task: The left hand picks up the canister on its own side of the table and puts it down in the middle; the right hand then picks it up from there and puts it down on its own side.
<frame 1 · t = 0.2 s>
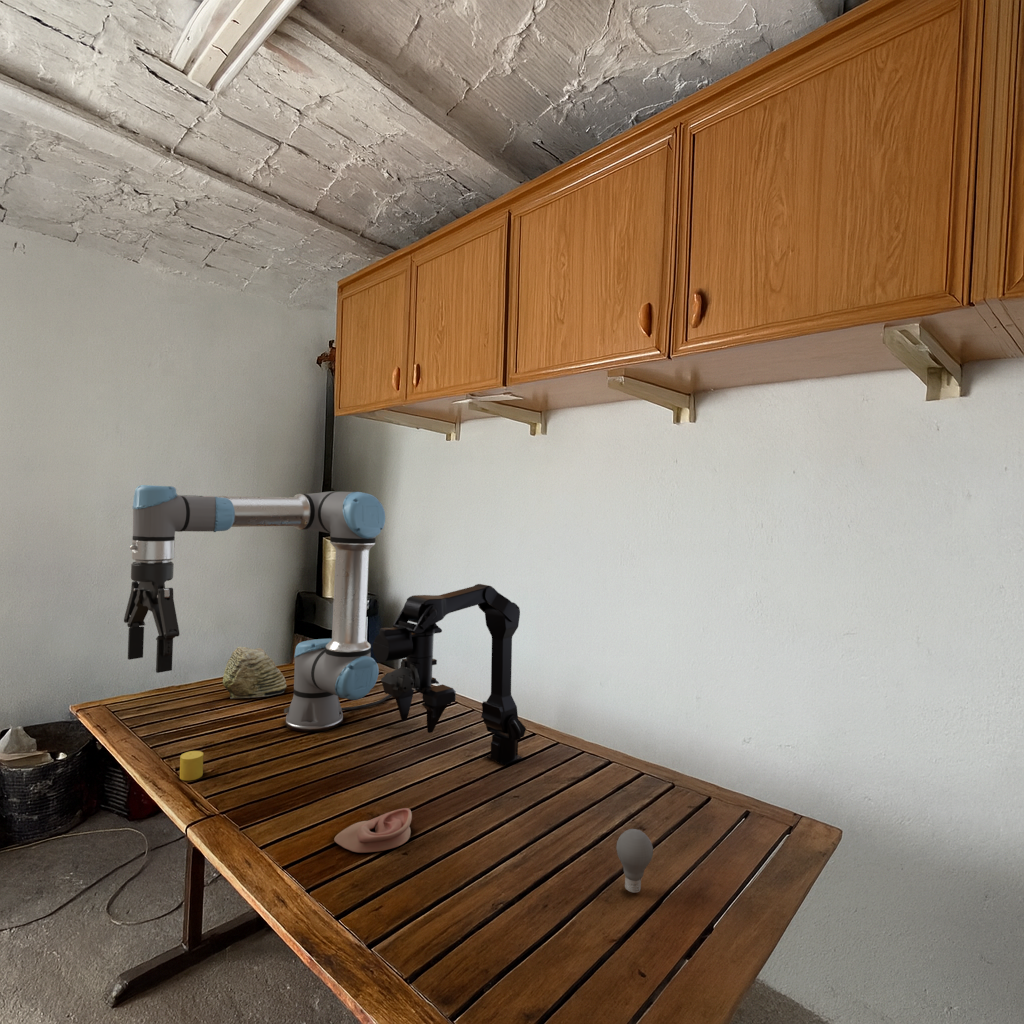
left hand: (149, 664, 129), 28 cm above the table, tool pointing down, fingers open, 13 cm apart
right hand: (416, 726, 137), 15 cm above the table, tool pointing down, fingers open, 9 cm apart
light bulb: (632, 891, 106), on the table
canister: (191, 776, 141), on the table
anatomical model: (373, 838, 119), on the table
fossil: (254, 694, 198), on the table
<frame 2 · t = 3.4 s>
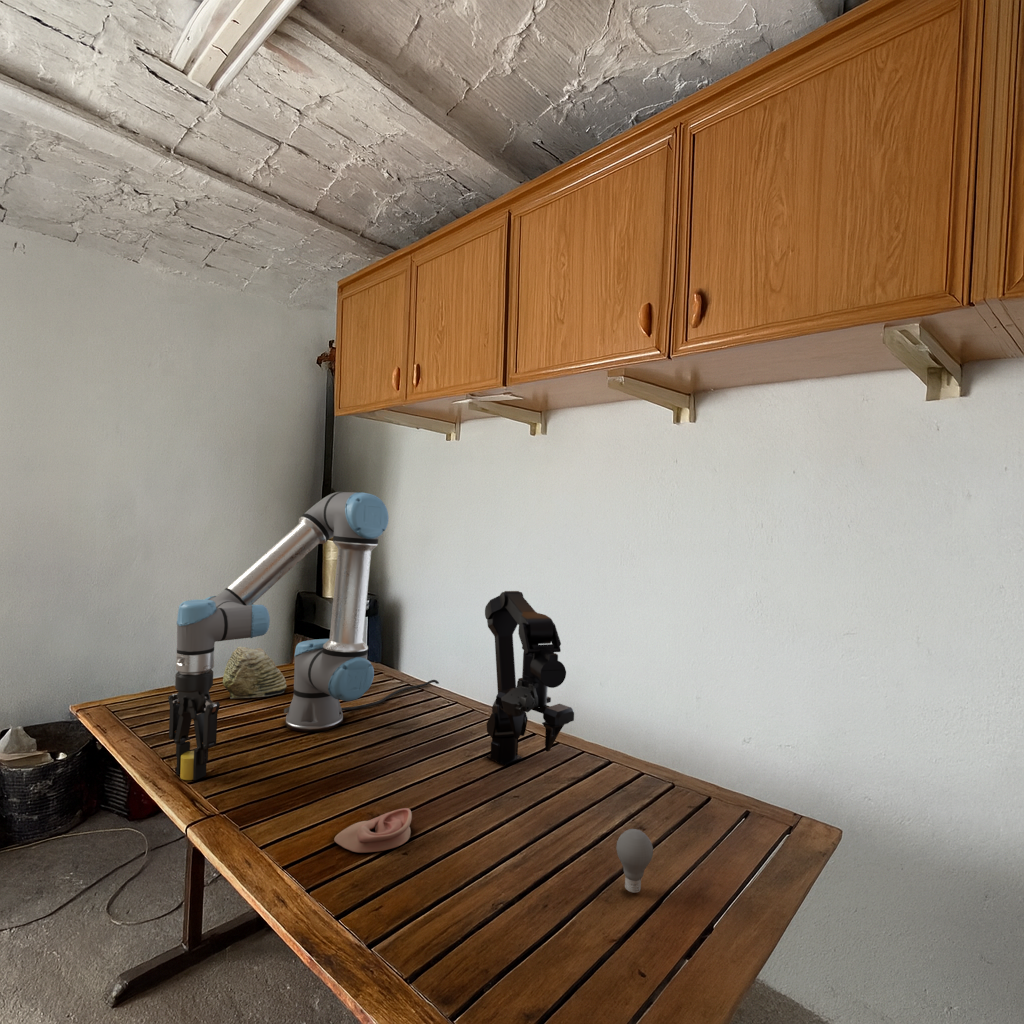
left hand: (191, 774, 141), 0 cm above the table, tool pointing down, fingers closed on canister, 5 cm apart
right hand: (532, 744, 140), 11 cm above the table, tool pointing down, fingers open, 9 cm apart
canister: (191, 775, 141), on the table, touching left hand
everything else where it was.
when the left hand's fingers open (1 cm above the table, at t = 10.8 s): canister stays where it is, on the table.
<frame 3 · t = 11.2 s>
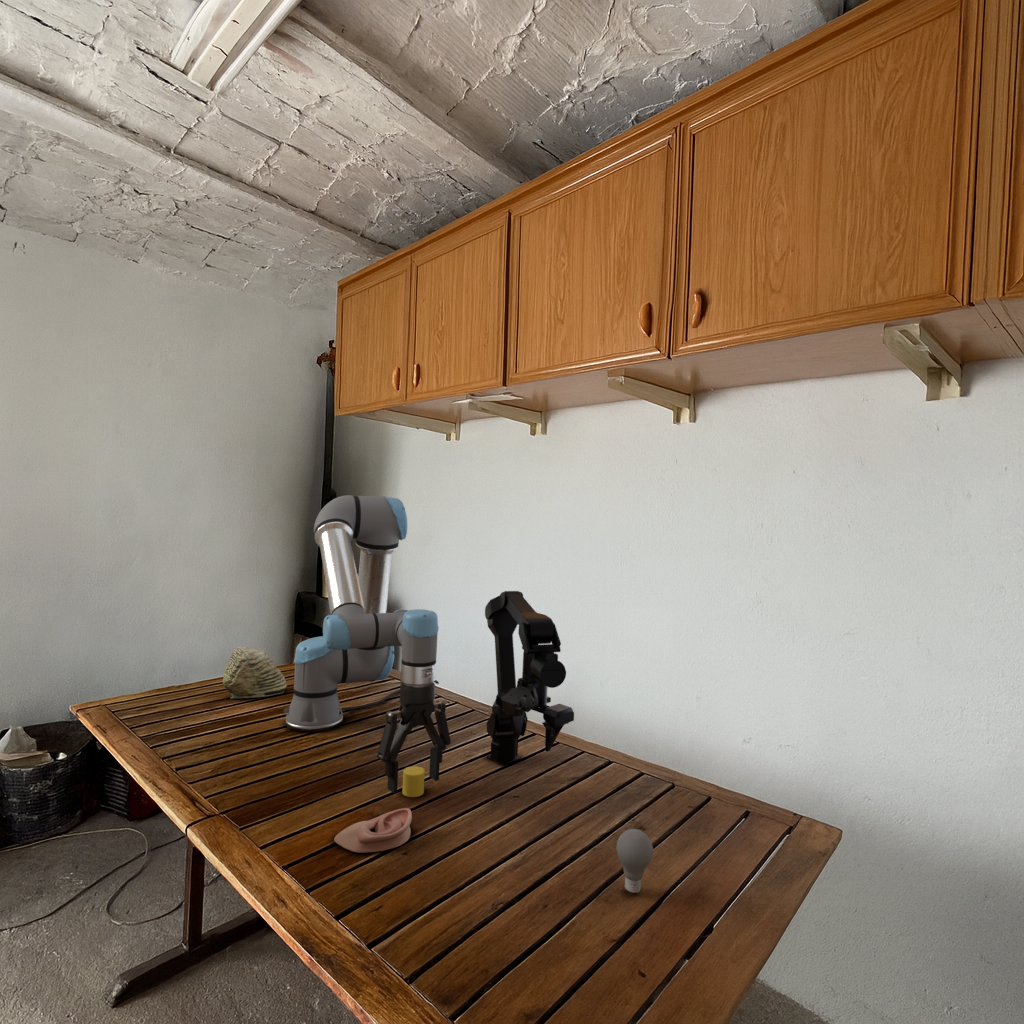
left hand: (413, 784, 137), 2 cm above the table, tool pointing down, fingers open, 10 cm apart
right hand: (532, 744, 140), 11 cm above the table, tool pointing down, fingers open, 9 cm apart
canister: (413, 792, 138), on the table
everything else where it was.
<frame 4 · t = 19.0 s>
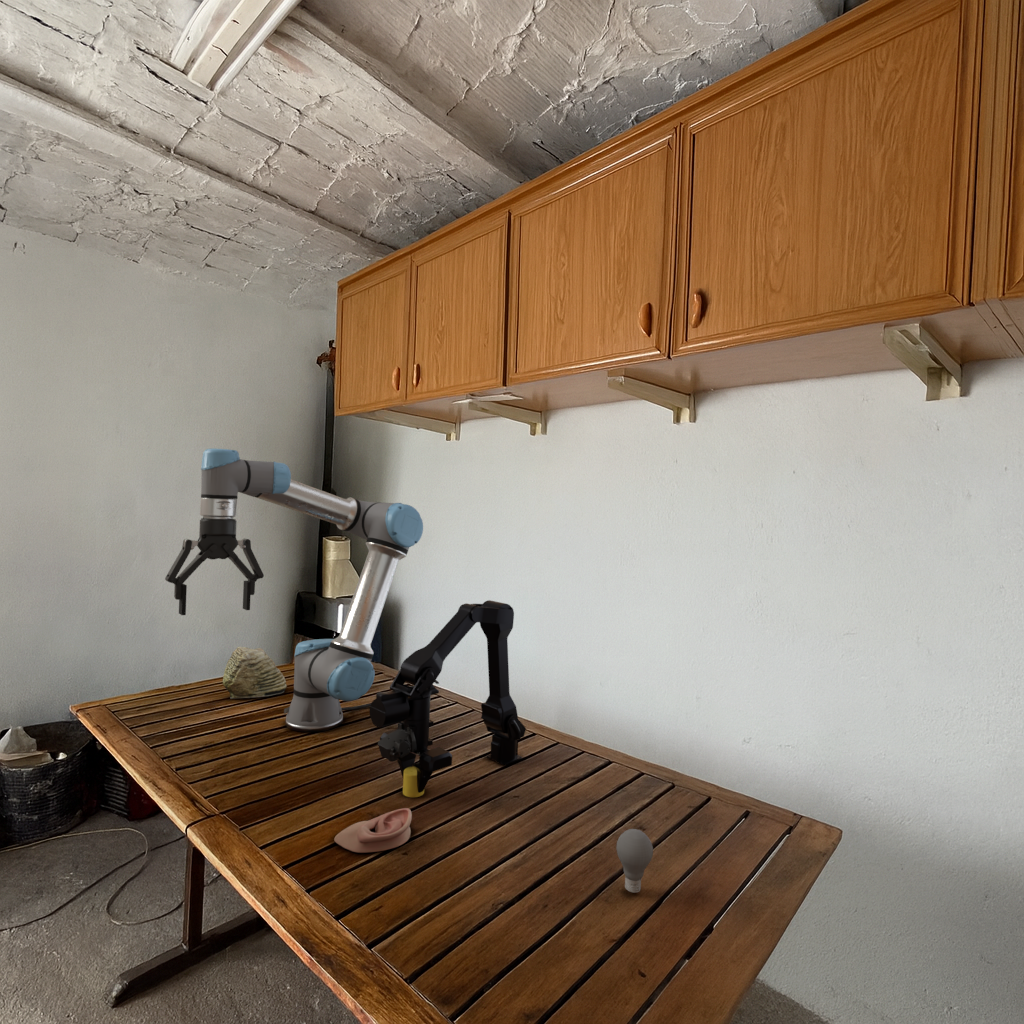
left hand: (215, 611, 143), 36 cm above the table, tool pointing down, fingers open, 13 cm apart
right hand: (413, 787, 138), 1 cm above the table, tool pointing down, fingers closed on canister, 4 cm apart
canister: (413, 792, 138), on the table, touching right hand
everything else where it was.
when the right hand's fingers open (2 cm above the table, at t = 24.5 s): canister stays where it is, on the table.
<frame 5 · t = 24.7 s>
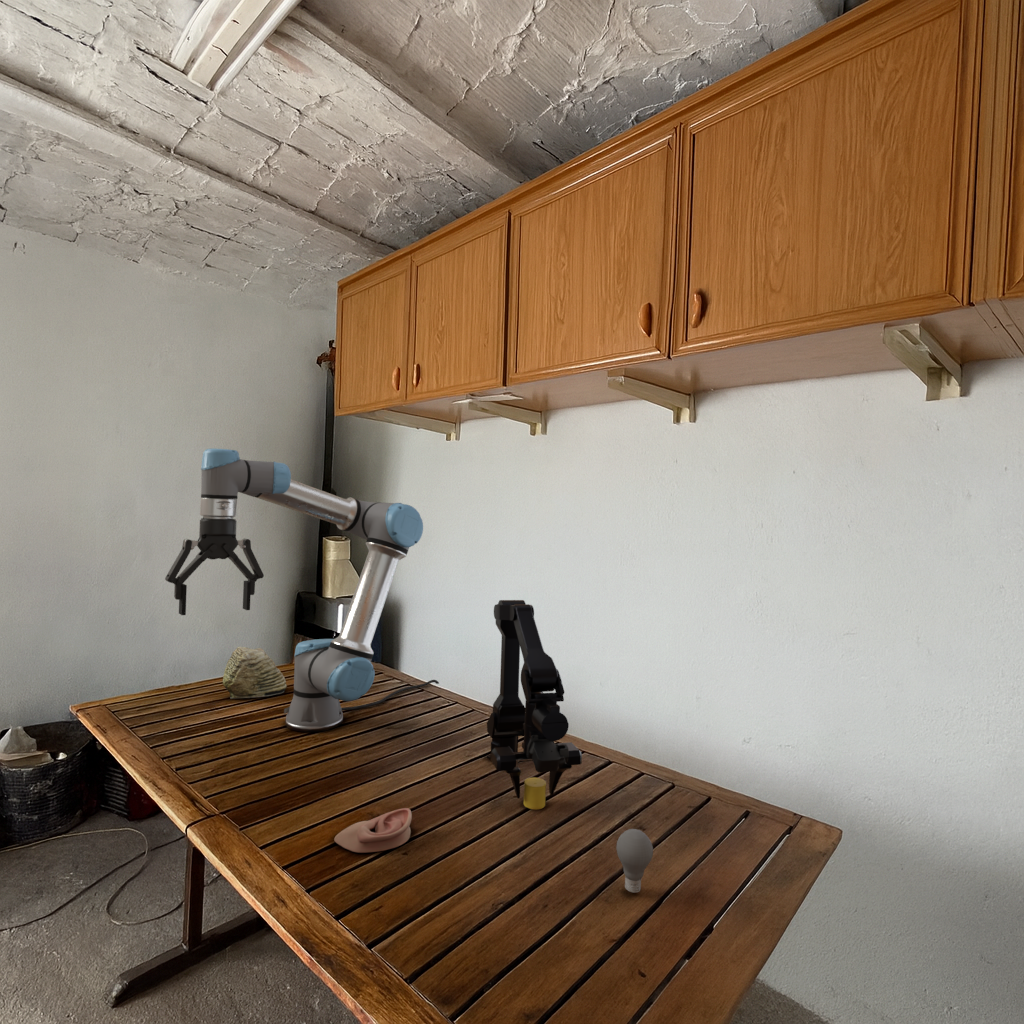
left hand: (215, 611, 143), 36 cm above the table, tool pointing down, fingers open, 13 cm apart
right hand: (534, 795, 135), 2 cm above the table, tool pointing down, fingers open, 7 cm apart
canister: (534, 804, 135), on the table
everything else where it was.
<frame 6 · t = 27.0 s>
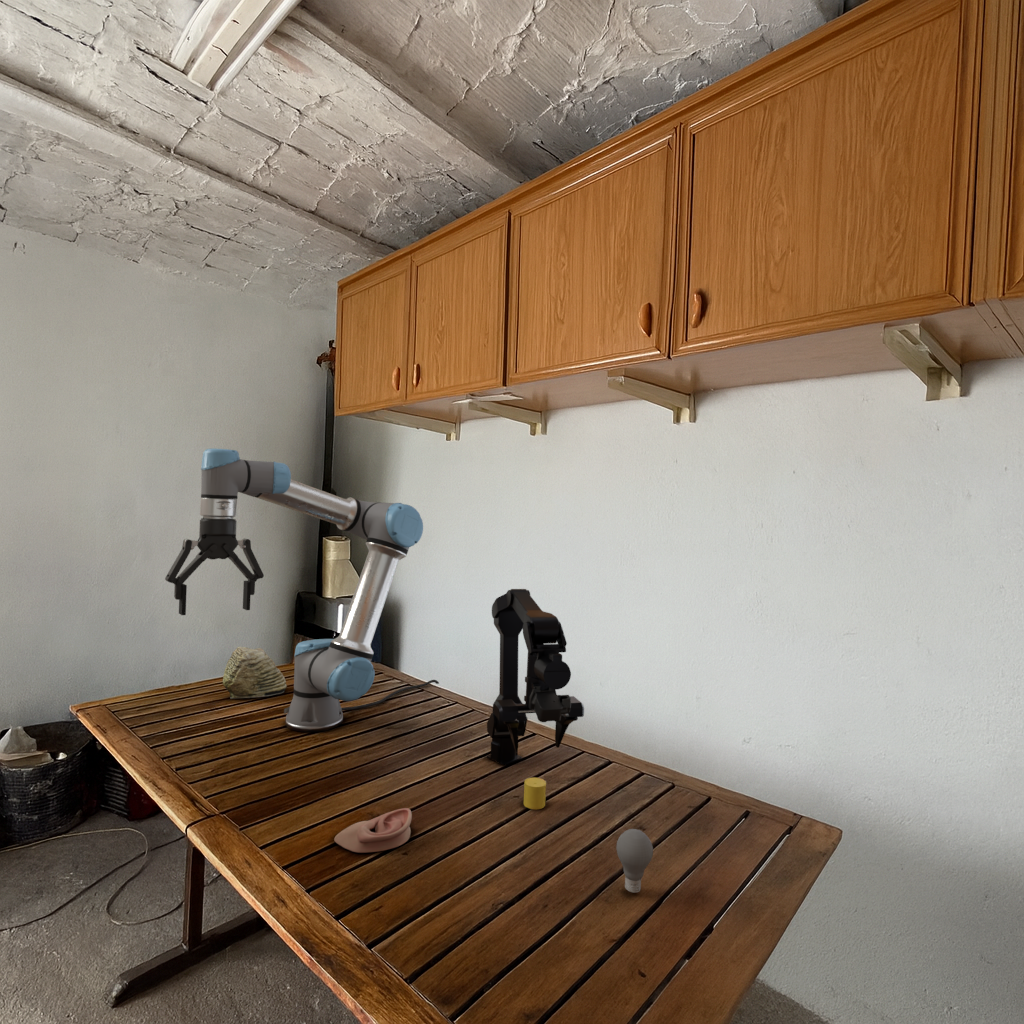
left hand: (215, 611, 143), 36 cm above the table, tool pointing down, fingers open, 13 cm apart
right hand: (536, 748, 134), 12 cm above the table, tool pointing down, fingers open, 9 cm apart
nothing on the table moved.
at the end: canister inside the target area (0.0 cm from its centre), on the table; canister tilted 0°; the two hands never held the canister at the same time; the left hand is holding nothing; the right hand is holding nothing; canister at rest at the end (0.0 cm/s) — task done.
